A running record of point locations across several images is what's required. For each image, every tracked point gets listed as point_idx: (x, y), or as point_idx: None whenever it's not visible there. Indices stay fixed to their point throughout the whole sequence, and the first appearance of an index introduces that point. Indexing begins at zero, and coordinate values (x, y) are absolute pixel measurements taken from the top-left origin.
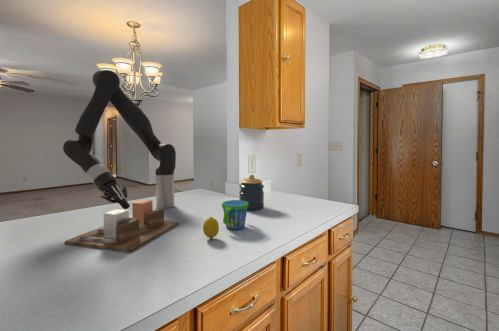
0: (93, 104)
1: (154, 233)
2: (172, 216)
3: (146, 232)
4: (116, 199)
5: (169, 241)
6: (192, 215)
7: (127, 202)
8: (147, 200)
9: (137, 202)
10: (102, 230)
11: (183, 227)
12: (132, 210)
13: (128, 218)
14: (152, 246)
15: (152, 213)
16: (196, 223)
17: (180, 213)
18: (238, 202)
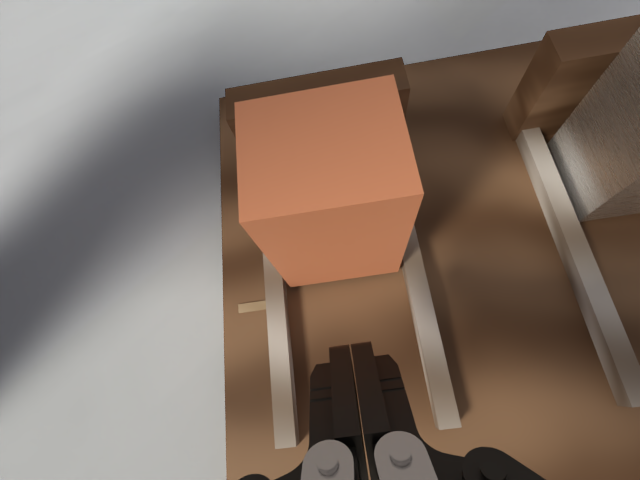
0: None
1: (437, 76)
2: (86, 236)
3: (446, 118)
4: (509, 459)
5: (450, 3)
6: (48, 147)
7: (333, 381)
8: (255, 139)
9: (381, 156)
10: (631, 351)
11: (264, 63)
12: (411, 230)
13: (613, 64)
14: (534, 16)
15: (379, 62)
16: (186, 52)
17: (10, 236)
18: None
